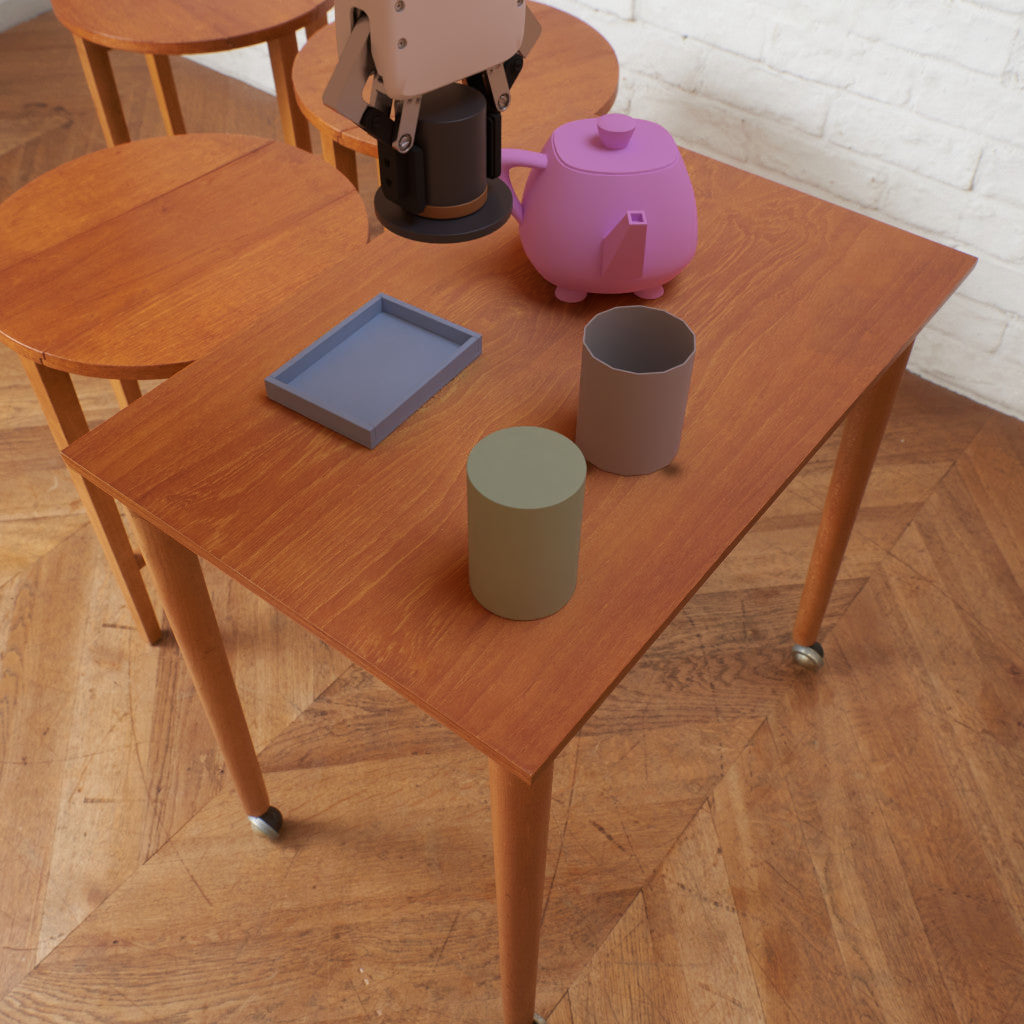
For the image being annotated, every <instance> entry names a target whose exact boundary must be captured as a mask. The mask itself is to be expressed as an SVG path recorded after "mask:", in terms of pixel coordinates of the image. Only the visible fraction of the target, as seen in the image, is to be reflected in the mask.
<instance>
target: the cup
mask: <svg viewBox="0 0 1024 1024" xmlns="http://www.w3.org/2000/svg"><path fill="white" fill-rule="evenodd" d="M696 339H697V338H696V334H695V332H694V331H693V330H692V328H691V327H690V326H689V325H688V324H687V322H686V321H685V320H684V319H682V318H680V317H678V316H676V315H674V314H672V313H670V312H668V311H667V310H665V309H660V308H655V307H651V306H646V305H642V304H640V305H625V306H624V305H623V306H615V307H612V308H609V309H607V310H604V311H601V312H599V313H597V314H595V315H594V316H593V317H592V318H591V319H590V320H589V321H588V322H587V324H586V325H585V326H583V337H582V347H581V348H582V349H581V363H580V373H579V374H580V375H579V389H578V403H577V413H576V427H575V440H574V441H575V442H574V444H575V445H576V446H577V447H578V448H579V449H580V451H581V452H582V454H583V456H584V458H585V461H586V462H588V463H590V464H592V465H593V466H594V467H596V468H598V469H599V470H601V471H604V472H607V473H611V474H615V475H619V476H624V477H628V476H629V477H630V476H641V475H642V476H644V475H651V474H652V473H655V472H657V471H660V470H661V469H663V468H666V467H667V466H669V465H670V464H671V462H672V461H673V460H674V458H675V457H676V456H677V455H678V453H679V451H680V444H681V439H682V433H683V428H684V423H685V417H686V411H687V405H688V400H689V399H688V398H689V393H690V387H691V381H692V375H693V369H694V364H695V359H696V353H697V340H696Z"/></svg>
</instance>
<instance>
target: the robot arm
mask: <svg viewBox="0 0 1024 1024" xmlns="http://www.w3.org/2000/svg"><path fill="white" fill-rule="evenodd" d="M526 1H527V0H333V7H334V25H335V39H336V40H335V41H336V49H337V50H336V51H337V57H338V61H337V63H336V65H335V68H334V70H333V72H332V74H331V75H330V78H329V80H328V82H327V84H326V86H325V89H324V91H323V94H322V96H321V100H322V104H323V105H324V106H325V107H326V108H328V109H329V110H331V111H333V112H335V114H336V113H337V114H338V115H340V116H342V117H344V118H345V119H347V120H349V121H350V122H351V123H353V124H355V125H356V126H357V127H358V128H359V129H361V130H362V131H363V132H365V133H367V135H368V136H370V137H371V138H373V139H374V140H376V144H377V145H376V146H377V156H378V169H379V182H380V186H381V188H382V190H383V194H384V196H385V197H386V198H387V199H388V200H390V201H392V202H393V203H395V204H397V205H398V206H400V207H402V208H403V209H405V210H407V211H408V212H410V213H412V214H413V215H417V214H420V213H422V212H423V211H424V209H425V207H426V202H425V182H424V162H423V152H422V149H421V148H419V147H418V146H416V145H414V144H413V143H414V138H415V132H416V127H417V121H418V116H419V111H420V105H421V100H422V95H423V94H426V93H428V92H431V91H434V90H436V89H439V88H442V87H444V86H447V85H449V84H452V83H454V82H455V83H458V82H459V81H461V84H464V85H468V86H470V87H473V88H475V89H477V90H478V91H480V92H481V93H482V94H483V95H484V97H485V99H486V177H487V178H490V179H495V178H497V177H499V176H500V175H501V149H502V127H503V126H502V121H503V119H502V118H503V117H502V116H503V115H502V113H504V112H505V111H507V109H509V106H510V105H511V102H512V94H511V89H512V88H513V85H514V84H515V82H516V80H517V79H518V77H519V75H520V74H521V71H522V70H523V67H524V59H527V57H528V56H529V54H530V52H531V51H532V50H533V48H534V47H535V45H536V44H537V41H538V40H539V38H540V36H541V34H542V24H541V23H540V22H539V21H538V19H537V17H536V16H535V15H534V13H533V12H532V11H531V9H530V8H529V6H528V5H527V2H526ZM371 76H373V78H372V83H371V84H372V85H371V90H370V97H369V102H367V101H365V100H364V97H363V91H364V88H365V86H366V84H367V82H368V81H369V78H370V77H371ZM394 100H396V101H398V103H397V109H396V115H395V114H394V120H393V119H392V118H391V114H392V107H393V104H394Z"/></svg>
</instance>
